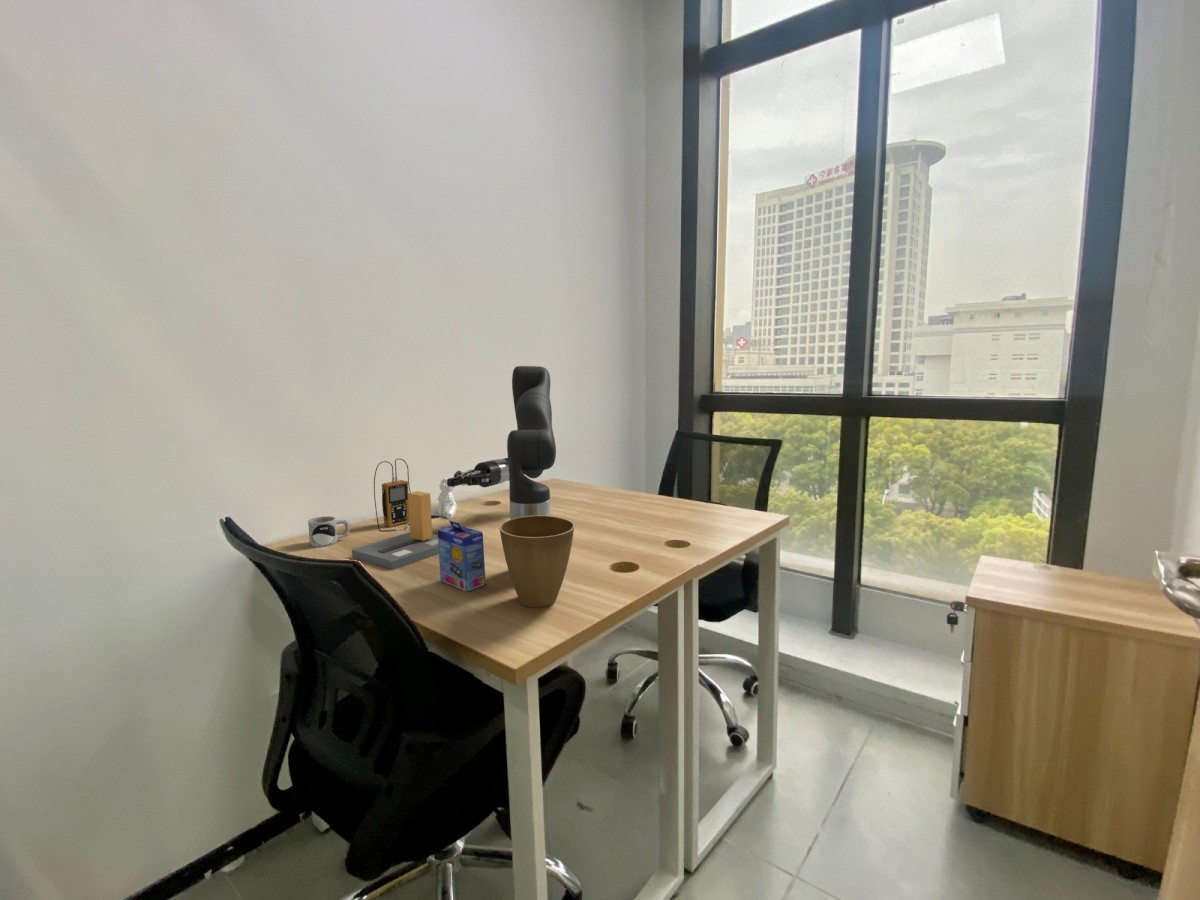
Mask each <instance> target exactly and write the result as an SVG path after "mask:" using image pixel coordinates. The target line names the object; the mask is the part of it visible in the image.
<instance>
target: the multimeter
mask: <svg viewBox="0 0 1200 900" xmlns="http://www.w3.org/2000/svg"><path fill="white" fill-rule="evenodd" d="M398 460H399V461H400V460H401V461H403V462H404V464H405V465H406V469H407V480H402V479H400V480H399V479H398V475H397V474H398V473H397V461H398ZM382 463H388V464H390V466H391V472H392V474H391V476H392V477H391V481H390V482H383V483H382V484H381V505H382V515H383V524H384V526H386V527H389V529H385V530H384V529H383V530H381V528H380V525H379V519H378V518H379V517H378V511H377V502H376V491H375V490H376V489H375V488H376V475H377V474H376V473H377V470H378V468H379V466H380V464H382ZM394 468H395V473H394ZM394 474H395V476H394ZM408 493H412V492H411V488H410V477H409V465H408V464H407V462H406V460H405V459H403V458H396V459H395V460H394V466H393V464H392V463H391V462H390V461H387V460H384V461H381V462H379V463H378V464H377V465H376V468H375V471H374V477H373V495H374V496H373V498H374V499H373V501H374V505H375V507H374V508H375V513H376V521H377V528H378V531H380V532H392V531H393V532H394V531H398V530H400V531H401V530H402V528H392V527H393V526H398V525H402V524H403V525H404V524H407V525H406V527H405V531H407V530H409V528H410V518H409V498H408Z"/></svg>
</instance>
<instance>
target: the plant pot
mask: <svg viewBox="0 0 1200 900" xmlns="http://www.w3.org/2000/svg"><path fill="white" fill-rule="evenodd" d="M574 532H575V524H574V522H573V521H571V520H569V519H566V518H563V517H559V516H552V515H550V516H524V517H518V518H514V519H510V518H509V519H508V520H505V521H504V522H502V523H501V524H500V525H499V533H500V538H501V539H500V540H501V544H502V550H503V555H504V559H505V561H506V566H507V570H508V573H509V575H510V580H511V582H512V586H513V588H514V590H515V592H516V595H517V598H518V600H519V602H520V604H522V605H523V606H524V607H528V608H544V607H549V606H551V605H553V604H555V602H556V600H557V598H558V596H559V593H560V590H561V588H562V584H563V583H564V582H563V581H564V578H565V575H566V572H567V568H568V565H569V560H570V556H571V551H572V546H573V545H572V544H573V539H574Z"/></svg>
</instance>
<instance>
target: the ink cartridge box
mask: <svg viewBox="0 0 1200 900" xmlns="http://www.w3.org/2000/svg"><path fill="white" fill-rule="evenodd" d="M448 522H449V523H450V525H449V526H444V527H440V528H438V529H437V530H436V531H437V535H438V545H439V554H438V559H439V575H440V578H439V579H440V581H441V582H442V583H445V584H447V585H449V586H452V587H453V588H457V589H458V590H460V591H462V592H466V593H467V592H470V591H472V590H476V589H478V588H481V587H484V586H486V584H487V583H486V566H485V549H484V533H483V532H482V531H480V530H477V529H473V528H469V527H466V526H464V525H461V523H460V522H456V521H453V520H451V519H448Z"/></svg>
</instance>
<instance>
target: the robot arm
mask: <svg viewBox="0 0 1200 900" xmlns="http://www.w3.org/2000/svg"><path fill="white" fill-rule="evenodd" d="M511 377H512V378H511V390H512V398H513V399H512V401H513V406H514V412H515V413H514V414H515V420H516V428H517V429H515V430H511V431H510V432H509V433H508V435H507V439H506V440H507V441H506V449H507V453H506V454H507V457H505V458H496V459H492V460H487V461H482V462H479V463H477V464H476V465H475V466H474V468H473V469H472V468H471V469H468V470H467V471H461V470H457V471H456V472H454V474H453V477H449V478H448V479H447V486H449V487H454V486H455V487H457V486H458V487H459V486H469V487H471V486H479V487H481V488H489V487H492V486H496V485H500V484H502V483H506V482H508V481H509V483H508V484H509V520H510V519H514V518H518V517H524V516H551V491H550V490H551V489H550V487H549V486H548V485H547V484H544V483H541V482H538V481H535V480H532V479H537V478H539V477H540V476H542V474H543V472H544V471H545V470H549V469H551V468H552V467H553V466H554V464H555V462H556V456H557V448H556V442H555V441H556V440H555V434H554V431H553V422H552V421H553V414H552V413H553V412H552V409H553V408H552V404H551V397H550V395H551V375H550V372H549V370H548V369H547V368H546V367H544V366H538V365H537V366H535V365H517V366H515V367H514V368H513V371H512V375H511ZM455 487H454V488H455Z"/></svg>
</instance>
